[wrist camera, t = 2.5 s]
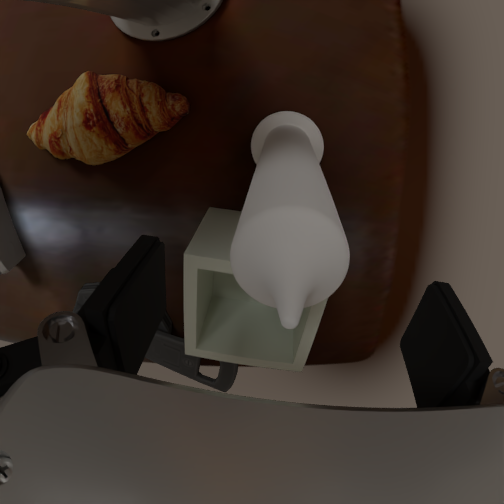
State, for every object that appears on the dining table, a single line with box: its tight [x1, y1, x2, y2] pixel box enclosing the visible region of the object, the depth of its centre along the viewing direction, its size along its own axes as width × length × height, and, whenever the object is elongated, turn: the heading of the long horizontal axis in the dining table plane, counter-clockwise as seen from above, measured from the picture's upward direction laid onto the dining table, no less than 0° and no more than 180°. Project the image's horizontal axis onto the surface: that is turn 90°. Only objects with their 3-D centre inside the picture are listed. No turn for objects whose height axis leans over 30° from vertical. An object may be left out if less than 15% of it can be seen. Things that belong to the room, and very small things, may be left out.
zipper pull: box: [73, 282, 238, 392], centre depth 42 cm, size 9×7×25 cm
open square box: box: [184, 207, 328, 372], centre depth 33 cm, size 12×12×10 cm
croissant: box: [27, 71, 190, 165], centre depth 28 cm, size 21×10×8 cm, turn 93°
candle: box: [230, 111, 350, 329], centre depth 20 cm, size 7×7×25 cm
